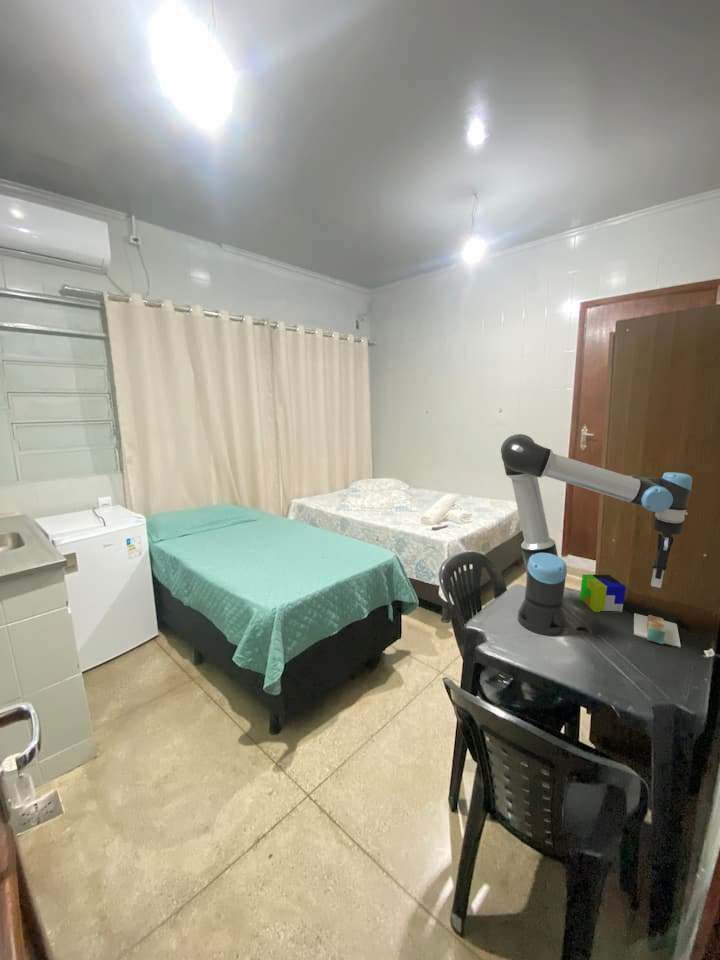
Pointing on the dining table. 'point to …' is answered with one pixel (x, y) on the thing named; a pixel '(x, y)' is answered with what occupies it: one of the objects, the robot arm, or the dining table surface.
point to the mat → (670, 628)
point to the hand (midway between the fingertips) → (655, 585)
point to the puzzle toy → (602, 593)
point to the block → (655, 629)
